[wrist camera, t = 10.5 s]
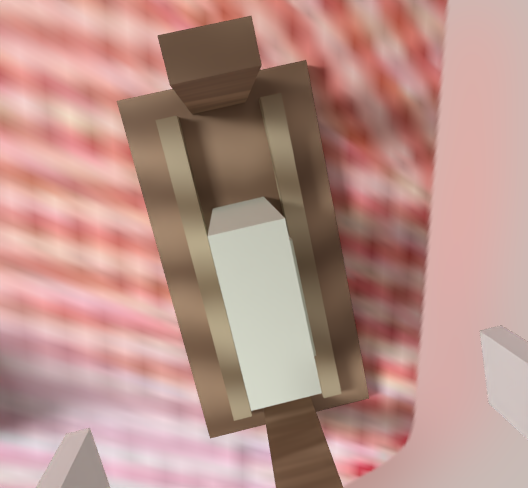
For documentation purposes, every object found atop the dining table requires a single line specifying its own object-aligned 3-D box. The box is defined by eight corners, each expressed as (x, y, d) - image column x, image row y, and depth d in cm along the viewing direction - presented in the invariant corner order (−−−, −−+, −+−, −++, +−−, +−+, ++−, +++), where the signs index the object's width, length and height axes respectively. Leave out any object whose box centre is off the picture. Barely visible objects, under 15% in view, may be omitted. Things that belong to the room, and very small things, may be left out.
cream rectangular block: (212, 208, 34) (207, 236, 22) (267, 195, 34) (290, 216, 23) (242, 328, 36) (251, 411, 24) (293, 315, 36) (327, 391, 25)
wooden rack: (121, 103, 33) (37, 60, 18) (302, 64, 34) (366, -9, 19) (210, 427, 39) (203, 598, 24) (363, 389, 40) (449, 532, 25)
